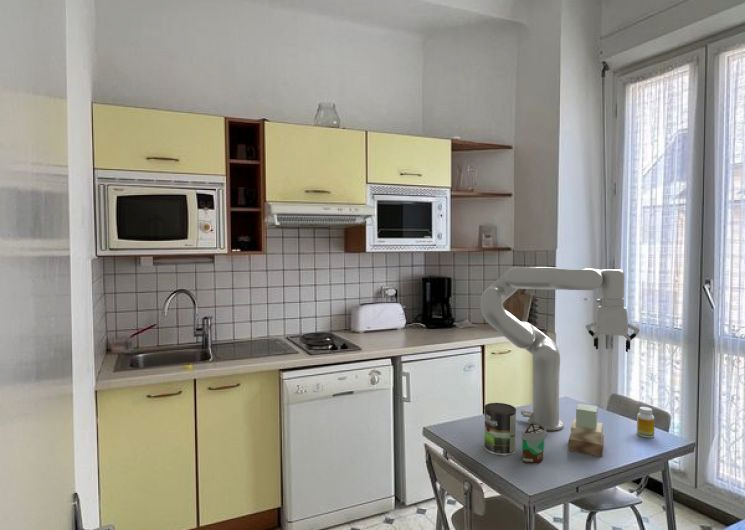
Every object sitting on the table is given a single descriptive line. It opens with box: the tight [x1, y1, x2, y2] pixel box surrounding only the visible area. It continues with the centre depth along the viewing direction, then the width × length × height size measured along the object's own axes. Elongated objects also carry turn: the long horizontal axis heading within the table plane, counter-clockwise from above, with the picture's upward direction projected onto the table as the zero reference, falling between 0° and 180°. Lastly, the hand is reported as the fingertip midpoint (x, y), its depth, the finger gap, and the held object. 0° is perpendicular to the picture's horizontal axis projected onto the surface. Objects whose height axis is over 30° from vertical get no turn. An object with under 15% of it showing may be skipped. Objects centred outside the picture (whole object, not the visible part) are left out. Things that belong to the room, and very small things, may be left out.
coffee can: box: [483, 402, 517, 457], centre depth 153 cm, size 10×10×14 cm
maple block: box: [570, 418, 604, 445], centre depth 154 cm, size 9×9×4 cm
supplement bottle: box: [636, 406, 655, 439], centre depth 164 cm, size 5×5×10 cm
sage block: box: [575, 403, 599, 430], centre depth 153 cm, size 6×6×6 cm
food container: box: [521, 421, 548, 465], centre depth 145 cm, size 12×6×10 cm, turn 148°
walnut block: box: [568, 433, 605, 457], centre depth 154 cm, size 10×10×4 cm
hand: (611, 349), depth 166 cm, fingers open, 9 cm apart
